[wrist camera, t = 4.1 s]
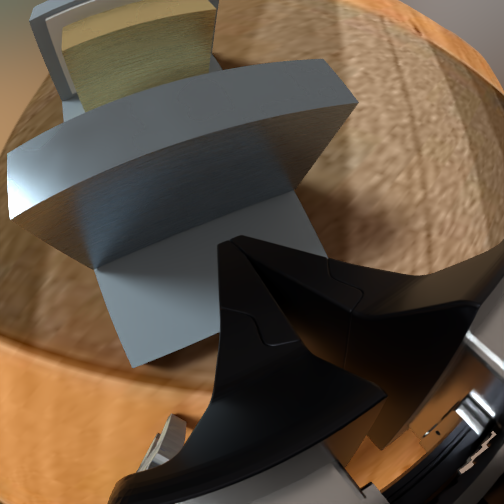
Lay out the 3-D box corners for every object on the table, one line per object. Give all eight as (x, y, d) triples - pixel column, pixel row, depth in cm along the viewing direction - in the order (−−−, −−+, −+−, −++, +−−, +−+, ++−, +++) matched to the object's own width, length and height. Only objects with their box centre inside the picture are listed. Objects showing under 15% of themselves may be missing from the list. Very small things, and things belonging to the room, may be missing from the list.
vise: (321, 280, 18) (436, 234, 8) (140, 362, 15) (67, 412, 5) (197, 50, 21) (207, -43, 11) (67, 92, 18) (35, 3, 8)
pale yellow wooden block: (206, 92, 17) (216, 9, 11) (93, 130, 15) (61, 51, 9) (193, 68, 18) (198, -10, 11) (87, 102, 16) (62, 27, 9)
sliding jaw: (295, 189, 16) (358, 102, 9) (93, 269, 13) (10, 219, 6) (272, 149, 17) (317, 52, 9) (79, 221, 14) (7, 145, 6)
